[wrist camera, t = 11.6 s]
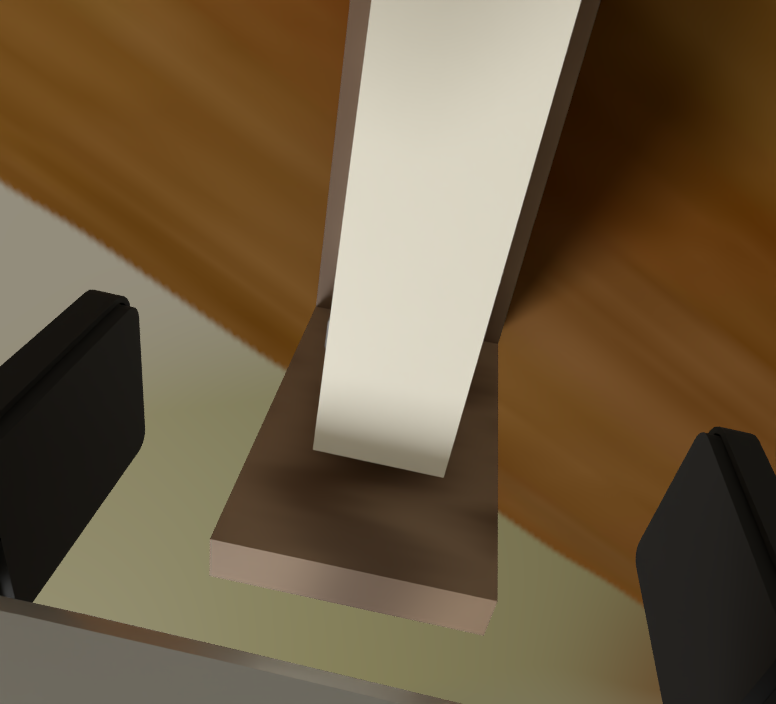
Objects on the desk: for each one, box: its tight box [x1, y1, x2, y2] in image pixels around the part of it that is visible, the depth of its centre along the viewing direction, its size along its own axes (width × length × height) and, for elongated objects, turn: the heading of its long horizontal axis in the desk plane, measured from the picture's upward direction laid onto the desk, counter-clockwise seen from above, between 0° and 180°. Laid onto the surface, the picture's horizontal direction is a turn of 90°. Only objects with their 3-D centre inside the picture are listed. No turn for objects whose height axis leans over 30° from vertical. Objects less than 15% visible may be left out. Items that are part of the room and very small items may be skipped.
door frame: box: [210, 0, 601, 635], centre depth 20 cm, size 8×20×16 cm, turn 171°
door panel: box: [313, 0, 581, 478], centre depth 21 cm, size 4×14×12 cm, turn 171°
